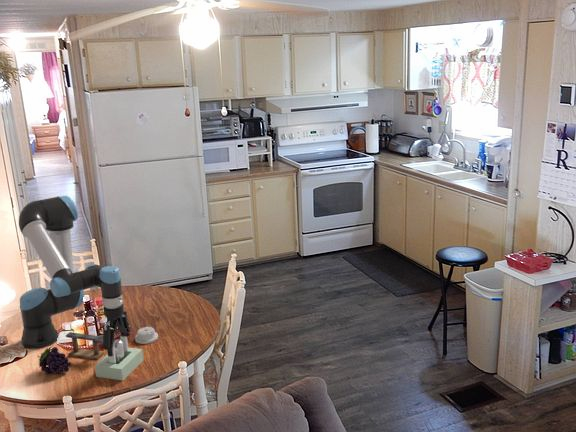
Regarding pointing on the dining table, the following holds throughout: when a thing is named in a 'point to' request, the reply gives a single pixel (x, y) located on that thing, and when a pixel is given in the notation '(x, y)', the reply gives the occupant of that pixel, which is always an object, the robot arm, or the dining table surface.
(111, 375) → the slot block
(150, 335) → the mechanical component
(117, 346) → the grey upright peg
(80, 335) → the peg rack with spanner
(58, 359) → the fruit
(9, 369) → the dining table surface
